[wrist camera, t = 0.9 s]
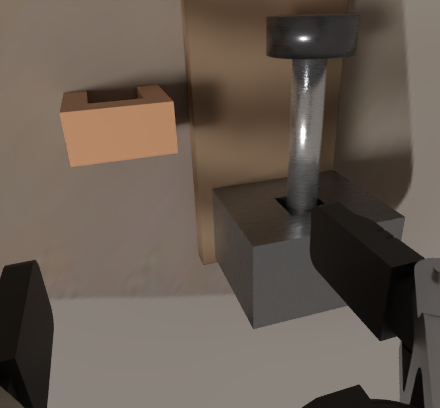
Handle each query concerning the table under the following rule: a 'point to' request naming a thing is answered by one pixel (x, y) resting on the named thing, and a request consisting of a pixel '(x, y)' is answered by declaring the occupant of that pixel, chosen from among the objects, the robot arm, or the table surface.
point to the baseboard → (244, 99)
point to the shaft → (308, 90)
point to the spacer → (118, 127)
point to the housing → (282, 245)
